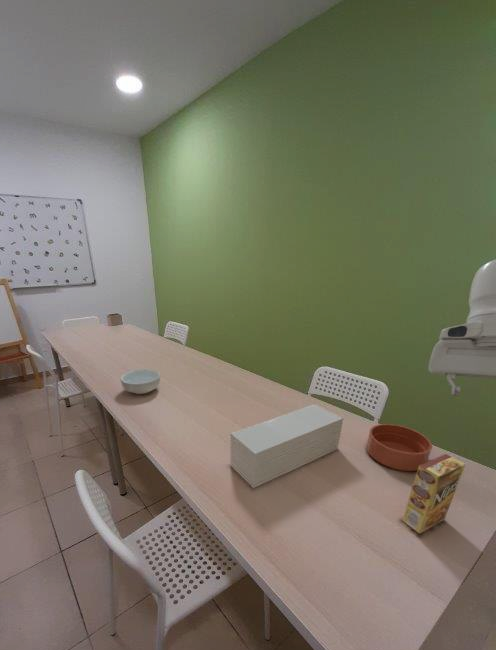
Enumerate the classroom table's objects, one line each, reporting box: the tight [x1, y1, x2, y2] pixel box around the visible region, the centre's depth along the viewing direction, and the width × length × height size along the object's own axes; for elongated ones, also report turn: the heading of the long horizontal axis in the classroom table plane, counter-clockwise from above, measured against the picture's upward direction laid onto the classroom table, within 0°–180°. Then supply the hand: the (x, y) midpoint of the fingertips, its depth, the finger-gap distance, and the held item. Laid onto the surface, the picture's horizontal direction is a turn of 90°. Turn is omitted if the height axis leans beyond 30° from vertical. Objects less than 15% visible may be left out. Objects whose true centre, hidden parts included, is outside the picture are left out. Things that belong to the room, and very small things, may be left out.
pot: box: [365, 423, 433, 472], centre depth 86 cm, size 15×15×6 cm
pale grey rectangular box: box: [229, 403, 344, 489], centre depth 86 cm, size 32×11×11 cm, turn 120°
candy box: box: [402, 453, 466, 534], centre depth 63 cm, size 9×4×15 cm, turn 115°
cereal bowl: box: [120, 368, 161, 395], centre depth 133 cm, size 17×17×7 cm
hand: (484, 398), depth 63 cm, fingers open, 8 cm apart
